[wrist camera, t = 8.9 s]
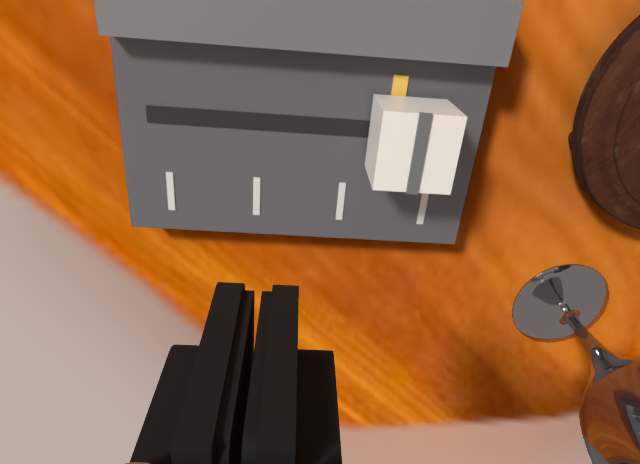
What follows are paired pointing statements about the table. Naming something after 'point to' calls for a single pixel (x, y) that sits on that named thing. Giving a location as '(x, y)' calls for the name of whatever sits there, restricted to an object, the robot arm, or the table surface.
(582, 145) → the scroll
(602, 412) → the wine glass
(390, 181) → the fader knob
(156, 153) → the console
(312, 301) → the table surface
